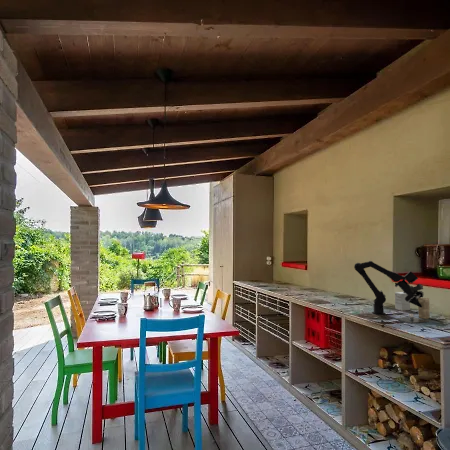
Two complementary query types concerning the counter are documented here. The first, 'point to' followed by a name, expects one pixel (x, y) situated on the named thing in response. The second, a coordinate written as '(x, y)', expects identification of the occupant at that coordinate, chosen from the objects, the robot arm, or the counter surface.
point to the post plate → (416, 320)
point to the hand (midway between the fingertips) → (424, 306)
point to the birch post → (424, 308)
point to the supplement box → (401, 301)
